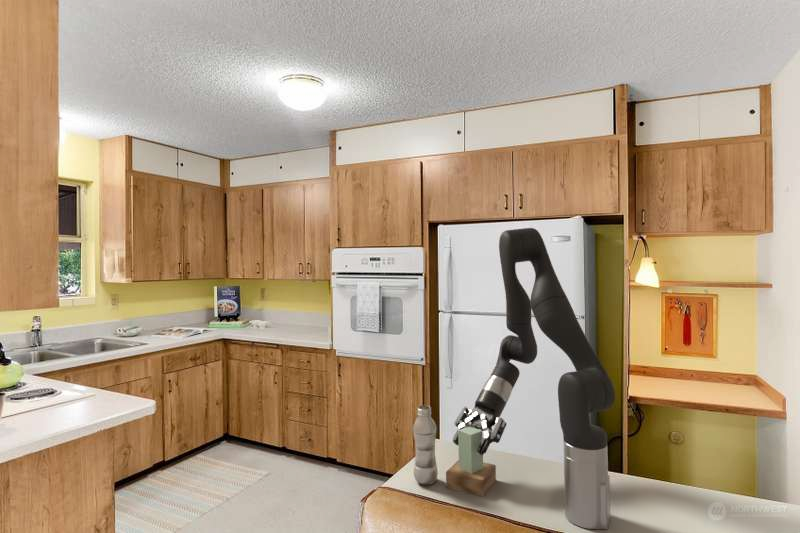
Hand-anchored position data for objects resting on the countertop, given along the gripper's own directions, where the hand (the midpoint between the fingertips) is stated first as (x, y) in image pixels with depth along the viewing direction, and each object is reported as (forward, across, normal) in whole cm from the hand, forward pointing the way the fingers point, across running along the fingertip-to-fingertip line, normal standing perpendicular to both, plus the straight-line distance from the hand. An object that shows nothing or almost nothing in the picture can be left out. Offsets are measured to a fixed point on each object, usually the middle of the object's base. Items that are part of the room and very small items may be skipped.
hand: (467, 448), depth 119 cm
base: (+6, 0, +8) cm, 10 cm away
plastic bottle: (+12, -9, +2) cm, 15 cm away
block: (+3, 0, +5) cm, 6 cm away
